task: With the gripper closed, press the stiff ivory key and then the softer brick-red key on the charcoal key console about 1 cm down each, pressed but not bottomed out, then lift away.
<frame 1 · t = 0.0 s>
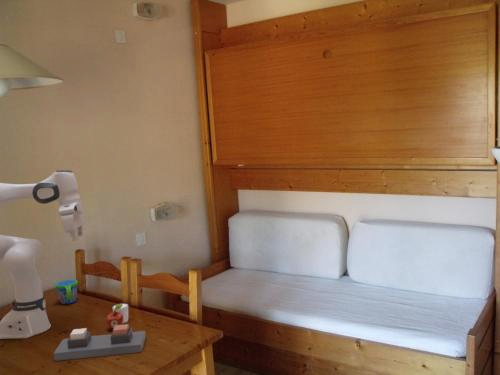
hand: (77, 238, 215), 39 cm above the table, tool pointing down, fingers open, 8 cm apart
snack cup: (68, 302, 252), on the table
key ivory: (78, 335, 192), point 6 cm above the table, slide at 0.0 cm
key brick: (121, 330, 193), point 6 cm above the table, slide at 0.0 cm
white short cylinder: (121, 321, 221), on the table
key console: (101, 349, 193), on the table
apple: (116, 328, 213), on the table
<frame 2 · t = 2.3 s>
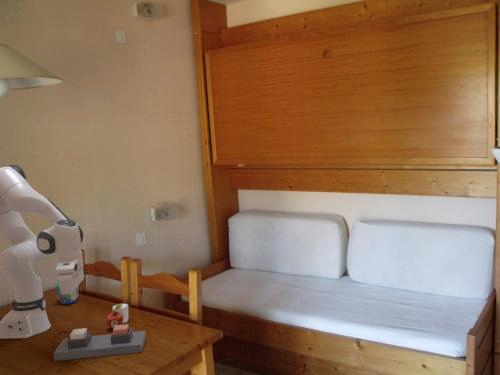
hand: (74, 298, 190), 21 cm above the table, tool pointing down, fingers closed
nothing on the table moved.
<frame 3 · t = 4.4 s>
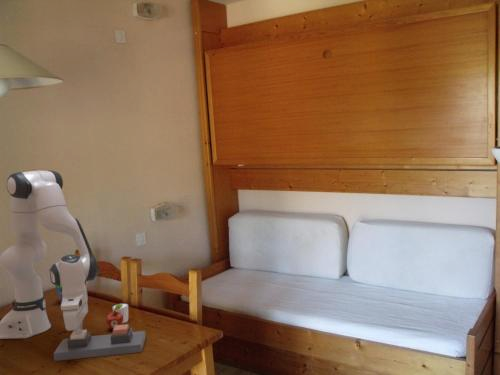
hand: (79, 332, 192), 7 cm above the table, tool pointing down, fingers closed, pressing on key ivory
key ivory: (79, 336, 192), point 6 cm above the table, slide at 0.6 cm, touching gripper
everything else where it was.
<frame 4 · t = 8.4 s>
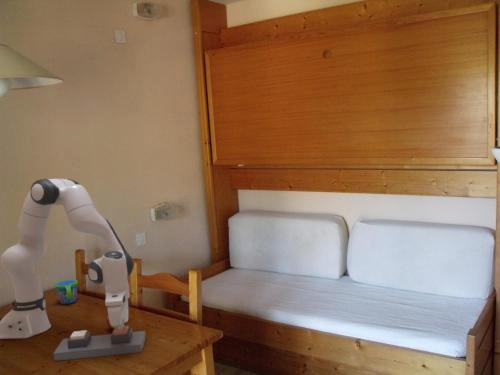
hand: (121, 328, 193), 7 cm above the table, tool pointing down, fingers closed
key ivory: (79, 337, 192), point 6 cm above the table, slide at 0.9 cm
key brick: (121, 332, 193), point 6 cm above the table, slide at 0.7 cm
everything else where it was.
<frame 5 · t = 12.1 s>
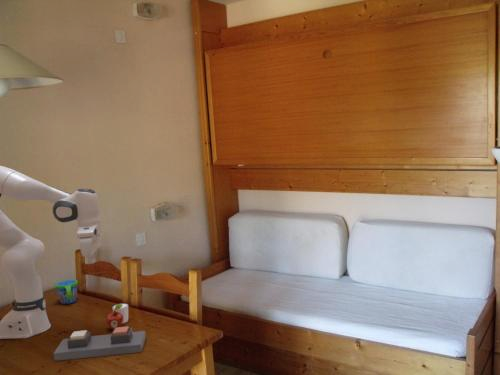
hand: (93, 262, 203), 31 cm above the table, tool pointing down, fingers closed
nothing on the table moved.
at the end: key ivory slide at 0.9 cm; key brick slide at 0.9 cm; apple moved 0.2 cm from its start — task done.
